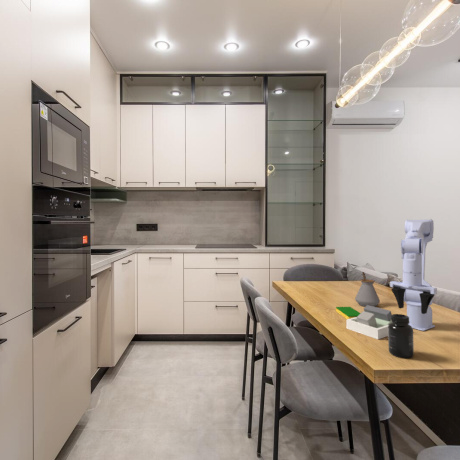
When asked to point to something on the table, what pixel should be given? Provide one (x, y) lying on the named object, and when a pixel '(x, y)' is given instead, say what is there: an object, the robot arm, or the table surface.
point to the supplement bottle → (400, 336)
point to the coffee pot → (367, 293)
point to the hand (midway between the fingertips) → (412, 310)
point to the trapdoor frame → (366, 329)
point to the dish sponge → (347, 312)
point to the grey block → (367, 319)
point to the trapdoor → (379, 315)
